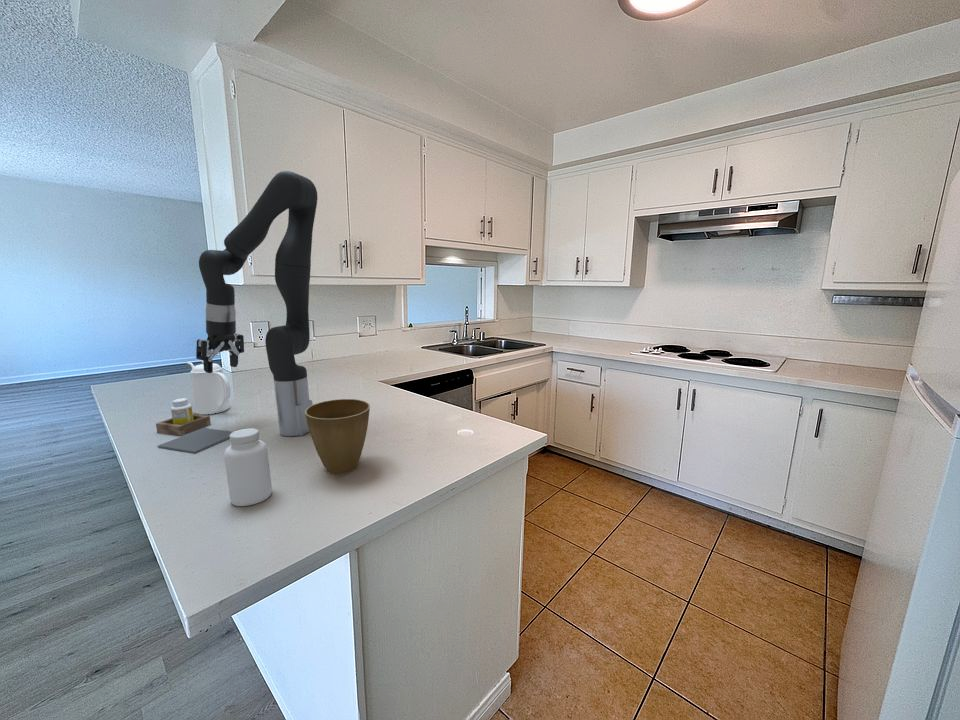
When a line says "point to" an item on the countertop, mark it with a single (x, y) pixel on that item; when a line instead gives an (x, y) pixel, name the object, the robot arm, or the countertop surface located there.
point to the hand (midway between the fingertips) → (221, 369)
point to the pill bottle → (247, 468)
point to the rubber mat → (197, 440)
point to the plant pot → (338, 432)
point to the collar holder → (183, 425)
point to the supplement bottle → (181, 411)
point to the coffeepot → (209, 390)
